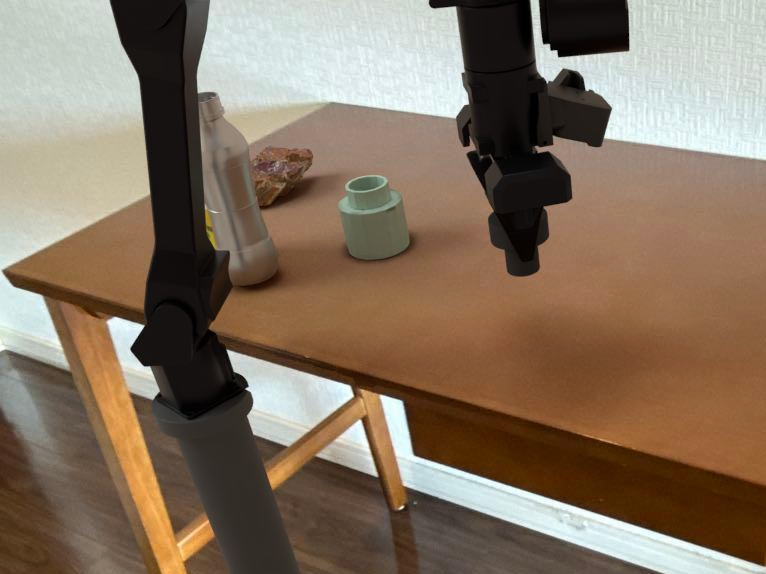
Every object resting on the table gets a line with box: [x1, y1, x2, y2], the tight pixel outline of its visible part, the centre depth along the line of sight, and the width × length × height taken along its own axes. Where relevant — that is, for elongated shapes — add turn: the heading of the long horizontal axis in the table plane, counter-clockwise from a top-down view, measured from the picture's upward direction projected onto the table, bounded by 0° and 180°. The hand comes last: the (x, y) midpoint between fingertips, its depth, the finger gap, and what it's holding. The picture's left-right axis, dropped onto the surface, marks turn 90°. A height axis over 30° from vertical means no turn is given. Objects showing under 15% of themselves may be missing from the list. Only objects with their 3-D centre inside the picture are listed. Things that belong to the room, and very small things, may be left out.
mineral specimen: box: [250, 145, 314, 207], centre depth 133 cm, size 12×8×7 cm
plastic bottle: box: [198, 91, 280, 286], centre depth 109 cm, size 6×7×20 cm
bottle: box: [337, 174, 411, 261], centre depth 117 cm, size 7×7×8 cm
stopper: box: [487, 207, 550, 278], centre depth 90 cm, size 5×5×5 cm
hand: (520, 248), depth 90 cm, fingers closed on stopper, 5 cm apart
